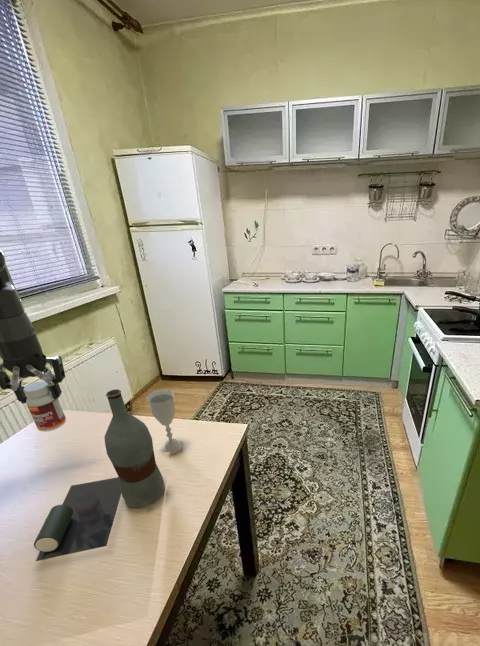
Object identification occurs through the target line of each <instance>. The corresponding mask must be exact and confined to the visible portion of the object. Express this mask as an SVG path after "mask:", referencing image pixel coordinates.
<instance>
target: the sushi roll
mask: <svg viewBox="0 0 480 646" xmlns="http://www.w3.org/2000/svg"><path fill="white" fill-rule="evenodd" d="M72 515H73V509H72V508H71V507H69V506H67V505H62V504H57V505H54V506H53V507H52V508H50V510H49V512H48V514H47V516H46V518H45V520H44V522H43V524H42V526H41V528H40V530H39V532H38V534H37V536H36V538H35V540H34V542H33V547H34V549H36V550H37V551H38V552H40V551H42V552H50V551H54V550H56V549H57V548H58V547H59V545H60V543H61V540H62V538H63V536H64V533H65V531H66V529H67V526H68V524H69V522H70V519H71V517H72Z"/></svg>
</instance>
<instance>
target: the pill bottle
mask: <svg viewBox="0 0 480 646" xmlns="http://www.w3.org/2000/svg"><path fill="white" fill-rule="evenodd" d="M49 386H50V385H49V384H47V383H46V382H45V381H44V380H40V381H36V382H33V383H30V384H28V385H26V386H24V389H23V390H24V393H25V395H26V397H27V399H26V403H25V405H26V407H27V409H28V410H29V413H30V416H31V417H32V420H33V422H34V425H35V426H36V428H37V430H38V431H40V432H43V433H44V432H51V431H55V430H57V429H59V428H61V427H62V426H64V425H65V424H66V421H67V418H66V415H65V413H64V409H63V407H62V405H61V403H60V399H59V398H58V399H54V398H53V396H52V394H51V391H50V389H49Z"/></svg>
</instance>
